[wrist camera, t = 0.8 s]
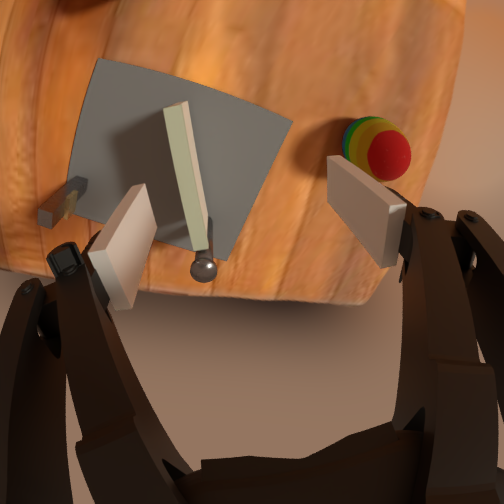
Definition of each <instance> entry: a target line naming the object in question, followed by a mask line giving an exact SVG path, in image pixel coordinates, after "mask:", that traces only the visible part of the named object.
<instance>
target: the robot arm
mask: <svg viewBox="0 0 504 504" xmlns="http://www.w3.org/2000/svg"><path fill="white" fill-rule="evenodd" d="M327 202H328V203H329V204H330V205H331V207H332V208H333V209H334V210H335V211H336V213H337V214H338V215H339V216H340V217H341V219H342V220H343V221H344V222H345V223H346V225H347V226H348V227H349V228H350V230H351V231H352V232H353V233H354V235H355V236H356V237H357V238H358V240H359V241H360V242H361V244H362V245H363V246H364V247H365V249H366V250H367V251H368V253H369V254H370V255H371V257H372V258H373V259H374V261H375V262H376V263H377V265H378V266H379V267H380V269H381V268H386V267H391V266H395V265H396V263H397V258H398V254H399V253H400V254H401V256H402V257H403V258H404V261H403V266H402V270H401V274H400V279H399V283H401V281H402V282H403V322H402V345H401V360H400V371H399V382H398V390H397V399H396V406H395V412H394V416H393V419H392V421H390V422H387V423H385V424H382V425H379V426H376V427H373V428H370V429H368V430H365V431H361V432H358V433H355V434H351V435H349V436H347V437H345V438H343V439H341V440H339V441H338V442H336V443H334V444H332V445H330V446H328V447H326V448H324V449H322V450H320V451H318V452H316V453H314V454H312V455H310V456H308V457H306V458H301V459H286V458H269V457H255V456H243V457H234V458H221V459H205V460H201V469H200V470H197V471H194V472H193V470H192V469H191V468H190V467H189V465H188V464H187V463H186V462H185V461H184V459H183V458H182V457H181V456H180V454H179V453H178V451H177V450H176V448H175V447H174V445H173V443H172V442H171V440H170V438H169V437H168V435H167V433H166V431H165V430H164V428H163V426H162V424H161V423H160V421H159V419H158V417H157V415H156V414H155V412H154V410H153V408H152V406H151V404H150V402H149V400H148V399H147V397H146V394H145V392H144V391H143V388H142V386H141V384H140V382H139V380H138V378H137V376H136V374H135V372H134V369H133V367H132V365H131V363H130V361H129V358H128V356H127V354H126V352H125V350H124V347H123V344H122V342H121V339H120V337H119V335H118V332H117V329H116V327H115V324H114V322H113V319H112V316H111V314H110V312H109V310H108V308H107V306H108V303H109V300H110V301H111V303H112V305H113V307H114V309H115V311H116V310H126V309H132V308H133V304H134V300H135V297H136V293H137V290H138V286H139V283H140V280H141V276H142V273H143V270H144V267H145V263H146V260H147V257H148V254H149V251H150V248H151V245H152V242H153V239H154V236H155V233H156V230H157V225H156V222H155V218H154V215H153V211H152V208H151V204H150V200H149V197H148V193H147V189H146V185H145V183H143V184H139V185H135V186H132V187H131V188H130V190H129V191H128V192H127V194H126V195H125V196H124V198H123V199H122V201H121V202H120V204H119V205H118V206H117V208H116V209H115V211H114V212H113V214H112V215H111V217H110V218H109V220H108V221H107V223H106V224H105V226H104V227H103V229H102V230H100V231H98V232H97V233H96V234H95V235H94V236H93V237H92V238H91V239H90V241H89V242H88V245H87V246H86V247H85V250H83V252H82V254H80V252H79V249H78V247H77V245H76V243H75V242H66V243H64V244H61V245H59V246H57V247H56V248H54V249H53V250H52V251H51V252H50V253H49V254H48V255H47V258H46V260H47V262H48V264H49V266H50V268H51V270H52V272H53V274H54V276H55V280H56V282H54V283H52V284H49V285H47V286H44V287H43V285H42V283H41V281H40V280H39V278H32V279H30V280H26V281H25V282H24V283H22V284H21V286H20V287H19V288H18V289H17V291H16V293H15V295H14V298H13V300H12V303H11V305H10V308H9V311H8V313H7V316H6V319H5V322H4V325H3V328H2V331H1V334H0V504H73V498H72V491H71V484H70V476H69V468H68V458H67V443H66V416H65V413H66V409H65V407H66V406H65V405H66V403H65V402H66V373H67V377H68V382H69V387H70V391H71V395H72V399H73V403H74V407H75V411H76V415H77V418H78V422H79V425H80V428H81V432H82V436H83V437H82V440H81V441H78V442H76V446H75V450H76V455H77V458H78V461H79V464H80V467H81V470H82V472H83V475H84V478H85V481H86V483H87V485H88V488H89V491H90V493H91V495H92V498H93V500H94V502H95V504H504V470H503V469H501V468H499V467H497V461H498V405H497V404H499V407H500V412H501V415H502V419H503V422H504V241H503V240H502V239H501V238H500V237H499V236H498V234H497V233H496V232H495V231H494V230H493V229H492V228H491V226H490V225H489V224H488V223H487V222H486V221H485V220H484V219H483V218H482V217H481V216H479V215H478V214H476V213H475V212H473V211H470V210H468V211H467V210H461V211H459V212H458V215H457V219H456V221H447V220H444V217H443V216H442V214H441V213H439V212H438V211H436V210H434V209H432V208H427V207H416V206H414V205H413V204H412V203H411V202H409V201H408V200H407V199H405V198H404V197H403V196H400V194H399V193H398V192H396V191H395V190H393V189H391V188H388V187H386V186H383V185H382V184H380V183H379V182H378V181H376V180H375V179H374V178H372V177H371V176H369V175H368V174H367V173H365V172H364V171H362V170H361V169H359V168H358V167H357V166H355V165H354V164H352V163H351V162H349V161H348V160H346V159H345V158H343V157H342V156H340V155H334V156H327ZM475 255H476V257H477V264H476V268H475V267H474V266H473V261H474V258H475ZM38 332H39V334H40V336H39V335H38ZM476 339H477V340H476ZM477 341H478V344H479V346H480V349H481V351H482V354H483V357H484V360H485V362H486V363H481V362H480V359H479V354H478V346H477ZM497 400H498V403H497Z"/></svg>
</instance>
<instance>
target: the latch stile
mask: <svg viewBox="0 0 504 504" xmlns="http://www.w3.org/2000/svg"><path fill="white" fill-rule="evenodd" d="M88 180H89V179H87V178H84V177H80V176H77V175H76V176H75V177H74V178H73V179H71V180H70V181H69V182H68V183H67V184H65V185H64V186H63V187H62V188H61V189H59V190H58V191H57V192H56V193H55V194H54V195H52V196H51V197H50V198H49V199H48V200H47V201H46V202H45V203H44V204H42V205H41V206H40V207H39V208H38V225H40V226H43V227H46V228H49V229H52V228H53V227H54V226H55V225H56V224H57V223H58V222H59V220H60V219H61V218H62V217H63V216H64V218H63V219H66V220H68V219H69V218H70V217H71V216H72V214H73V213H74V212H75V210H76V202H77V201H78V200H79V199H80V198H81V197H82V196H83V195H84V194H85V193H86V191H87V185H88Z"/></svg>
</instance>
